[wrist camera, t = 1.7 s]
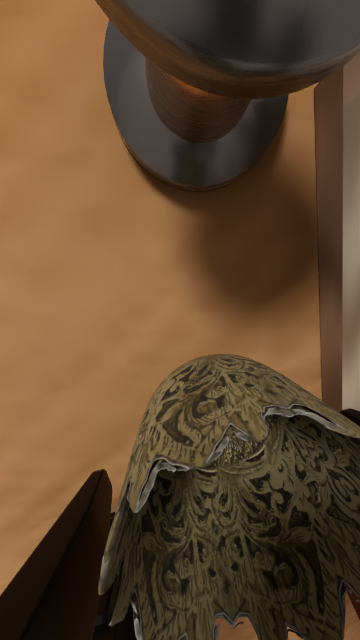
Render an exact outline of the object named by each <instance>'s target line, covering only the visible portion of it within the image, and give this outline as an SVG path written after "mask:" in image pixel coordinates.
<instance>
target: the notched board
mask: <svg viewBox="0 0 360 640" xmlns="http://www.w3.org/2000/svg"><path fill="white" fill-rule="evenodd" d="M314 102H315V139H316V177H317V215H318V253H319V290H320V328H321V366H322V401H323V402H324V403H326V404H327V405H329V406H330V407H332V408H333V409H335V410H336V411H338V412H340V411H341V410H344V409H348V408H351V409H355V410H357V411H360V53H359V54H357V55H356V56H355V57H354V58H353V59H351V60H350V61H349V62H348V63H347V64H345V65H344V66H343V67H342V68H340V69H339V70H337V71H336V72H334V73H333V74H331V75H330V76H328V77H326V78H325V79H323V80H322V81H320V82H319V83H318V84H317V86H316V87H315V88H314Z"/></svg>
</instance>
